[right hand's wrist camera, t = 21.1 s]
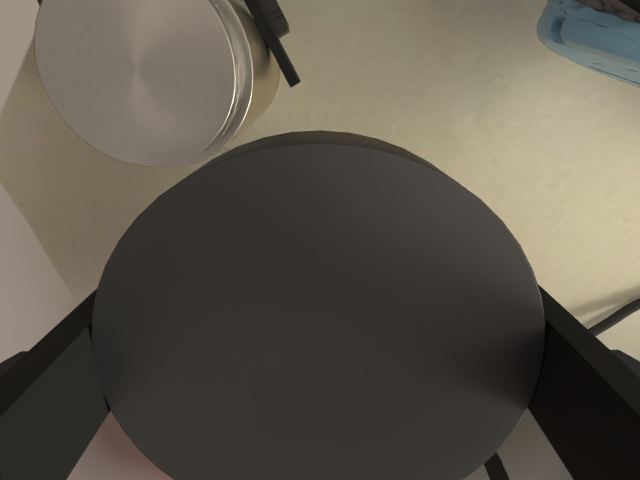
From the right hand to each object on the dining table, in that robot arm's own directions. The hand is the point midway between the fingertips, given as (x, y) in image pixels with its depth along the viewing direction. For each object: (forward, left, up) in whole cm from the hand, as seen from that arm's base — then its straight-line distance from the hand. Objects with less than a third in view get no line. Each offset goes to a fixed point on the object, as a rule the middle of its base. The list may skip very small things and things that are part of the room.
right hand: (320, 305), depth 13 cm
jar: (+5, -10, -28) cm, 30 cm away
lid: (0, 0, +3) cm, 3 cm away
